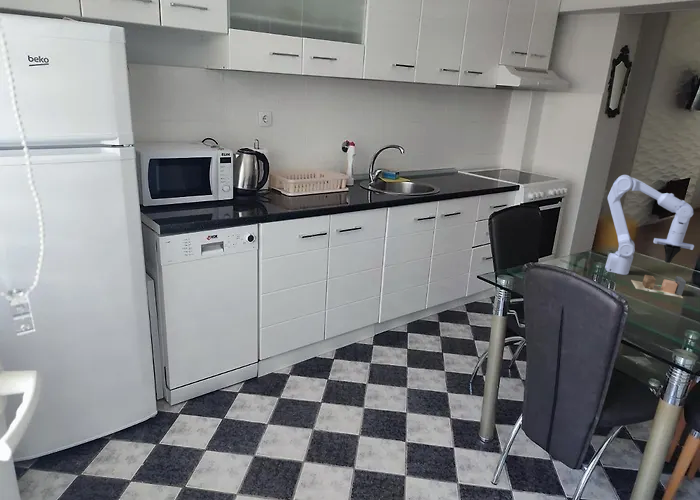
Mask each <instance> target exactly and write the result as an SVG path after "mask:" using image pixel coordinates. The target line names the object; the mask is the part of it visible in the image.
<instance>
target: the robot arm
mask: <svg viewBox="0 0 700 500" xmlns="http://www.w3.org/2000/svg"><path fill="white" fill-rule="evenodd" d="M630 190H631V192H632V191H633V192H635V191H636V192H640V193H643V194H645V195H647V196H649V197H651V198H652V199H654V200H656V201H657V204H658V206H660V207H662V208H663V209H665V210H667V211H669V212H671V213H675V214H674V217H673V219H672V222H671V224H670V228H669V230H668V234H667V236H666V238H657V237H654V238H653V244H656V245H658V244H659V245H663V247H664V253H665V258H664V262H665V263H666V264H670V263H671V262H672V261H673V259H674V257H675V256H676V255H677V254H679V253H680V252H681V250H682V249H688V250H691V251H693V250H694V248H695V245H694V244H693V243H687V242H684V239H685V236H686V232H687V230H688V226H689V223H690V220H691V218H692V217H693V215H694V208H693V207H692V205H691V204H689V203H688V202H687V201H686V200H683V199H679V198H678V197H676V196H675V194H674V193H672V192H671V193H668V192H666V193H662V192H660V191H659V190H657V189H656V188H654V187H652V186H650V185H649V184H647V183H645V182H644V181H642V180H639V179H637V178H635V177H632V176H631V175H628V174H622V175H620V176H618V178H616V180H614V182H613V184H612V186H611V188H610V191H609V193H608V195H607V202H608V205H609V209H610V213H611V217H612V221H613V224H614V228H615V232H616V236H617V242H618V249H617V250H616V251H615V252H613V253H612V252H609V254H608V255H607V260H606V263H605V266H604V269H605V271H607V272H609V273H615V274H617V275H629V272H630V269H631V266H632V263H633V259H634V254H635V251H636V250H635V248H636V247H635V246H636V245H635V242H634V240H632V238H631V236H630V235H631V234H630V233H629V228H628V225H627V221H626V217H625V213H624V209H623V206H622V203H621V198H623V196H624V194H626V193H627V192H629V191H630Z"/></svg>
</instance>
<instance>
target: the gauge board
mask: <svg viewBox="0 0 700 500" xmlns="http://www.w3.org/2000/svg"><path fill="white" fill-rule="evenodd" d="M630 281H631V283H632V284H633V287H635V290H642V291H645V292H650V293H655V294H661V295H664V296H671V297H676V298H679V299H680V298H681V299H684V297H683V296H680V295H676V294H674V293H669V292H664V291H663V290H662V289H661V287H662V284H656V283H655V284H654V288H653V289H649V288H645V287H644V285H643V284H642V283H643V281H639V280H633V279H631V280H630Z"/></svg>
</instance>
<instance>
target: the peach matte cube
mask: <svg viewBox="0 0 700 500" xmlns="http://www.w3.org/2000/svg"><path fill="white" fill-rule="evenodd" d="M661 285H662V287H661V289H662V290H663V291H664V292H669V293H674V294H675V291H676V288H677V285H678V284H677V283H676V282H675V280H669V279H666V278H665V279H664V278H663V280H662V283H661Z"/></svg>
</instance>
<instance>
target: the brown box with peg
mask: <svg viewBox="0 0 700 500" xmlns="http://www.w3.org/2000/svg"><path fill="white" fill-rule="evenodd" d="M656 281H657V279H656V278H655V277H654V276H653V275H648V274H644V276H643V280H642V282H643V283H642V284H643V285H644V287H645V288H649V289H653V288H654V284H655V285H656Z"/></svg>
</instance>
